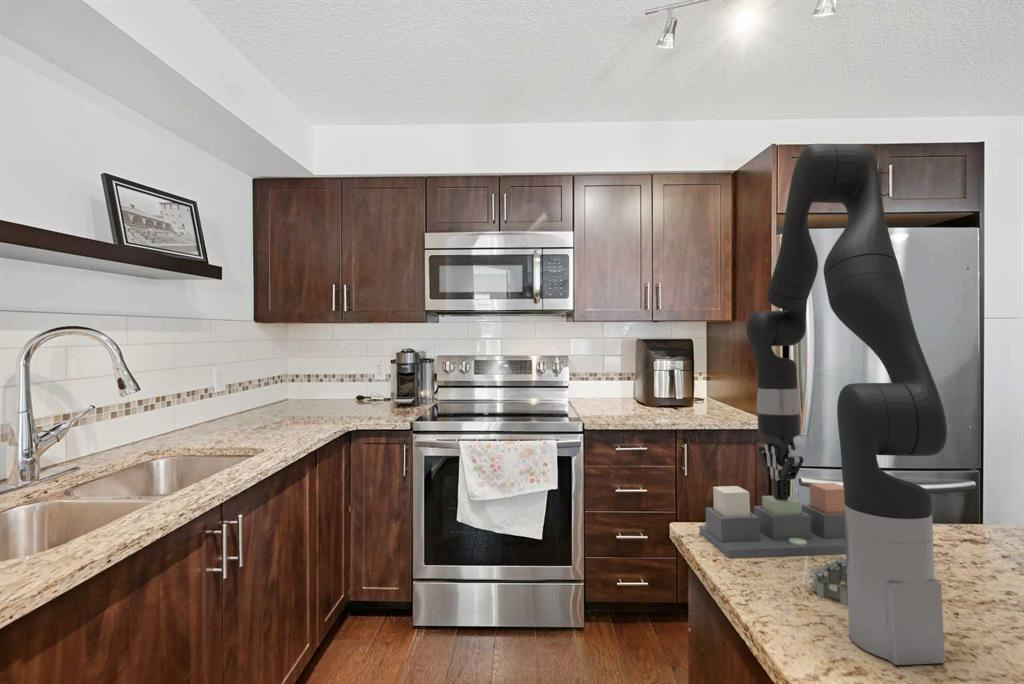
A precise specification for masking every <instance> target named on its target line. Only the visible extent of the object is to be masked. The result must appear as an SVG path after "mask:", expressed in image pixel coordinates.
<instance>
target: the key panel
mask: <svg viewBox="0 0 1024 684" xmlns="http://www.w3.org/2000/svg"><path fill="white" fill-rule="evenodd" d="M698 527H699V534H700V535H701V536H702V537H704V538H705V539H706V540H707V541H708V542H710V543H711V544H712V545H713V546H714V547H715V548H716V549H718V550H719V551H720V552H721V553H723V554H724V555H725V556H726V557H727V558H729V559H742V558H743V559H744V558H745V559H747V558H749V559H750V558H771V557H772V558H774V557H797V556H798V557H801V556H803V557H804V556H805V557H806V556H825V555H826V556H827V555H829V556H830V555H846V535H845V513H839V514H824V513H822V512H820V511H818V510H816V509H814V508H812V507H811V503H810V504H809V503H807V504H801V515H779V516H774V515H773V514H771V513H769V512H767V511H766V510H764V509H762V505H753V512H751V511H750V516H748V517H722V516H721V515H719V514H718V513H716V512H715V511H714V506H713V507H705V525H699V526H698Z"/></svg>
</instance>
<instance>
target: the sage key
mask: <svg viewBox="0 0 1024 684" xmlns="http://www.w3.org/2000/svg"><path fill="white" fill-rule="evenodd" d="M761 498H762V499H761V500H762V501H761V503H762V505H761V506H762V509H764V510H766V511H767V512H769V513H771V514H773V515H774V516H779V515H801V511H802V504H801V501H799V500H797V499H795V498H793V497H790V496H789V495H788V499H787V500H778V499H776V498H774V495H762V496H761Z"/></svg>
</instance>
